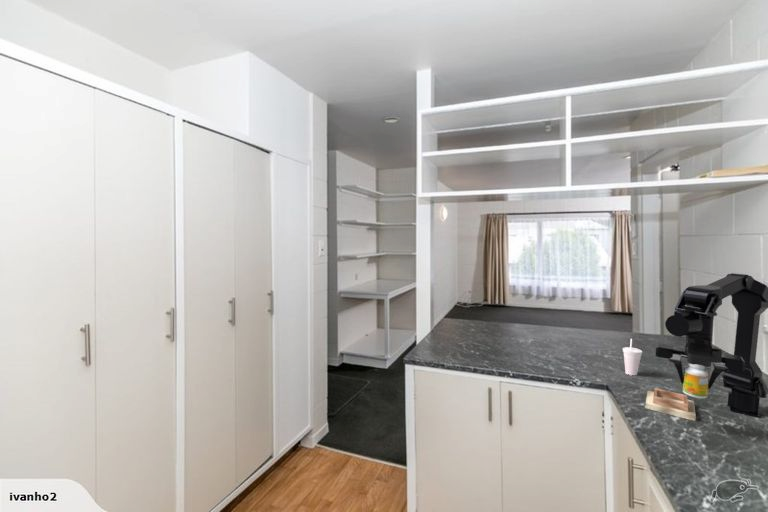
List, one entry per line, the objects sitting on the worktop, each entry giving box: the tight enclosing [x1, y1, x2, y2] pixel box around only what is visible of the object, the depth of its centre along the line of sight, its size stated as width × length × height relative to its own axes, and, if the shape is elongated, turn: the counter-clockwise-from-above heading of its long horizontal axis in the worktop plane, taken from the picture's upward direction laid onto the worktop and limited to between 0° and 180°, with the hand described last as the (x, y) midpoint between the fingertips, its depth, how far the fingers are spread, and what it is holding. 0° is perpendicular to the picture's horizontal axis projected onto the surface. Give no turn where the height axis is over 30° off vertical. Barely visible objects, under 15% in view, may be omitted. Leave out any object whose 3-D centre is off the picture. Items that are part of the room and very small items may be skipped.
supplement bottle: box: [682, 362, 710, 399], centre depth 102 cm, size 5×5×10 cm
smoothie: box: [622, 338, 643, 376], centre depth 140 cm, size 6×6×14 cm
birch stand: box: [644, 387, 697, 422], centre depth 114 cm, size 12×12×4 cm
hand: (695, 385), depth 102 cm, fingers closed on supplement bottle, 5 cm apart
